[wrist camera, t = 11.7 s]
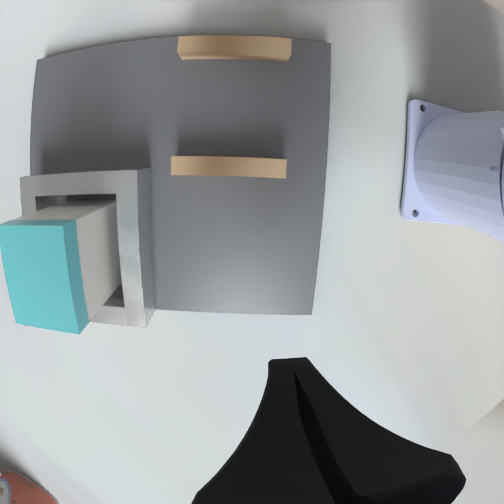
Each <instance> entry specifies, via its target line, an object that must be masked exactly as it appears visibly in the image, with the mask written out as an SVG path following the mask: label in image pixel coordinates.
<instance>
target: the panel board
mask: <svg viewBox="0 0 504 504" xmlns="http://www.w3.org/2000/svg"><path fill="white" fill-rule="evenodd" d="M191 36H196V35H191ZM247 36H252V35H247ZM178 37H179V36H173V37H160V38H150V39H141V40H132V41H125V42H118V43H112V44H106V45H100V46H94V47H89V48H84V49H79V50H75V51H70V52H66V53H62V54H58V55H54V56H50V57H46V58H43V59H39V60H37V65H36V72H35V80H34V89H33V100H32V114H31V136H30V175H34V174H40V173H50V172H63V171H77V170H94V169H116V168H151V226H152V252H153V271H154V286H155V299H156V309H162V310H178V311H195V312H215V313H241V314H280V315H312V308H313V300H314V292H315V284H316V275H317V267H318V258H319V248H320V238H321V228H322V217H323V206H324V193H325V180H326V165H327V149H328V130H329V105H330V61H331V43H326V42H319V41H311V40H303V39H294V38H292V44H291V56H290V58H289V60H288V62H282V61H268V60H249V59H186V60H182V59H181V57H180V56H179V54H178V53H177V48H178ZM267 37H270V36H267ZM281 38H283V37H281ZM171 156H225V157H254V158H274V159H287V166H286V179H285V178H267V177H244V176H208V175H171ZM80 200H116V194H78V195H57V204H58V203H61V202H64V201H80ZM117 289H123V288H122V283H121V284H120V286H119V287H118V288H117Z"/></svg>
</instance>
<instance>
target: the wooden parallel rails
mask: <svg viewBox="0 0 504 504" xmlns="http://www.w3.org/2000/svg"><path fill="white" fill-rule="evenodd" d="M291 44H292V38H281V37H267V36H247V35H196V36H179V37H178V48H177V53H178V54H179V56H180V57H181V59H182V60H186V59H249V60H268V61H282V62H288V60H289V58H290V56H291ZM286 166H287V159H274V158H254V157H225V156H171V175H208V176H244V177H267V178H285V179H286Z"/></svg>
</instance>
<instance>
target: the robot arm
mask: <svg viewBox="0 0 504 504" xmlns="http://www.w3.org/2000/svg"><path fill="white" fill-rule="evenodd" d="M420 105H422V106H423V109H424V110H423V112H422V111H421V110H420ZM413 210H416V214H415V215H414V216H413V215H412V212H413ZM401 216H402V217H403V218H404V219H406V220H413V221H424V222H434V223H445V224H454V225H464V226H467V227H469V228H471V229H474V230H476V231H478V232H481V233H483V234H485V235H488V236H490V237H492V238H494V239H497V240H499V241H501V242H503V243H504V110H498V111H484V112H473V113H464V112H460V111H457V110H454V109H451V108H447V107H444V106H440V105H437V104H433V103H429V102H426V101H422V100H418V99H413V100H410V101H409V103H408V122H407V145H406V160H405V173H404V184H403V194H402V203H401ZM465 482H466V478H465V476H464V474H463V473H462V471H461V469H460V467H459V465H458V464H457V462H456V461H455V460H454V458H453V457H452V456H451V455H450V454H446V453H443V452H440V451H436V450H433V449H430V448H427V447H424V446H421V445H419V444H416V443H414V442H411V441H409V440H407V439H405V438H402V437H400V436H398V435H396V434H394V433H393V432H391V431H389V430H387V429H385V428H384V427H382V426H380V425H379V424H377V423H375V422H374V421H372V420H371V419H369V418H368V417H367V416H365V415H364V414H362V413H361V412H360V411H359V410H357V409H356V408H355V407H354V406H352V405H351V404H350V403H349V402H348V401H347V400H346V399H344V398H343V397H342V396H341V395H340V394H339V393H338V392H337V391H336V390H335V389H334V388H333V387H332V386H331V385H330V384H329V383H328V382H327V380H326V379H325V378H324V377H323V376H322V375H321V374H320V373H319V371H318V370H317V369H316V368H315V367H314V365H313V364H312V363H311V362H310V360H309V359H308V358H306V357H303V358H288V359H272V360H270V361H269V362H268V379H267V384H266V387H265V391H264V394H263V397H262V400H261V403H260V405H259V408H258V410H257V413H256V415H255V417H254V419H253V421H252V423H251V425H250V427H249V429H248V431H247V433H246V434H245V436H244V438H243V439H242V441H241V442H240V444H239V445H238V447H237V448H236V450H235V451H234V453H233V454H232V455H231V457H230V458H229V459H228V460H227V462H226V463H225V464H224V465H223V467H222V468H221V469H220V470H219V471H218V472H217V474H216V475H215V476H214V477H213V478H212V479H211V480H210V481H209V482H208V483H207V484H206V485H205V486H204V487H203V488H202V489H200V490H199V491H198V492H197V494H196V496H195V497H194V500H193V502H192V504H451V503H452V502H453V501H454V500H455V498H456V497H457V496H458V495H459V493H460V492H461V491H462V489H463V487H464V485H465Z"/></svg>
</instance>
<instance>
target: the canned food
mask: <svg viewBox="0 0 504 504" xmlns="http://www.w3.org/2000/svg"><path fill="white" fill-rule="evenodd" d="M0 504H59V502H58V501H57V499H56V498H55V497H54V496H53V495H51V494H50V493H49V492H48V491H47V490H45V489H44V488H43V487H41V486H40V485H38V484H37V483H35V482H34V481H32V480H31V479H29V478H27V477H26V476H24V475H22V474H20V473H18V472H15V471H13V470H9V469H4V470H3V473H2V475H1V476H0Z"/></svg>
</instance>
